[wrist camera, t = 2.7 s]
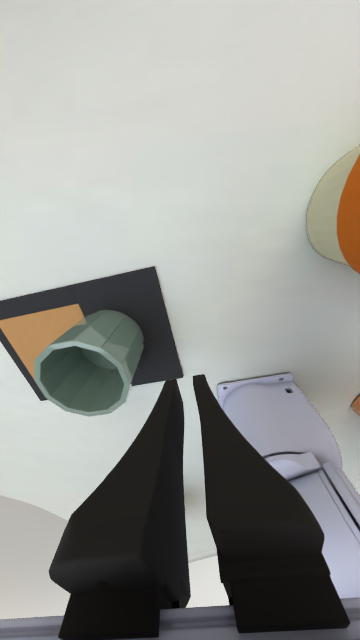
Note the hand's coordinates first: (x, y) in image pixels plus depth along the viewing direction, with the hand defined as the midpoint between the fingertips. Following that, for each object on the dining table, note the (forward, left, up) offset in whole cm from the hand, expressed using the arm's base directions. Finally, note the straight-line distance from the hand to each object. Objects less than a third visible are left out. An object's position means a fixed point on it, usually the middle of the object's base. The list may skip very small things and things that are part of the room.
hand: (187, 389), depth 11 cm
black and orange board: (+12, 0, -10) cm, 16 cm away
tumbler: (+9, 0, -10) cm, 13 cm away
